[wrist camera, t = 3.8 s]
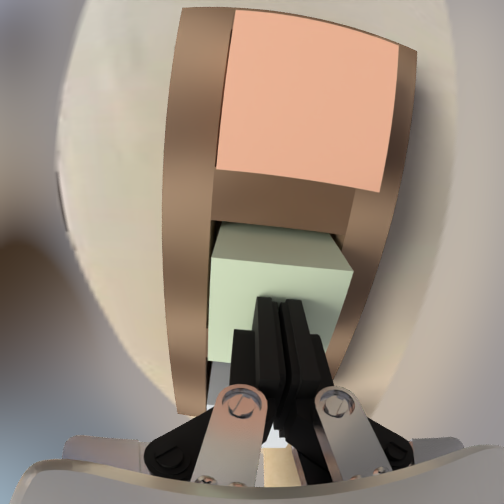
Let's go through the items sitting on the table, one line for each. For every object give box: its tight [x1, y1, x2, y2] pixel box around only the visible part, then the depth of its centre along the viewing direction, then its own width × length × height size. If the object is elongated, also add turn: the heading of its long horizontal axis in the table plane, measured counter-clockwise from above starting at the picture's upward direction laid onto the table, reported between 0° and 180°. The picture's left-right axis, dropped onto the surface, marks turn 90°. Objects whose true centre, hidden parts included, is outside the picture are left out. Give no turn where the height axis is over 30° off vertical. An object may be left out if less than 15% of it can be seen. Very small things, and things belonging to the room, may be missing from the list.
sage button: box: [208, 221, 354, 363], centre depth 13 cm, size 5×5×4 cm
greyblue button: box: [207, 361, 288, 448], centre depth 16 cm, size 5×5×4 cm
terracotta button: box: [216, 10, 399, 192], centre depth 9 cm, size 5×5×4 cm
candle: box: [263, 443, 301, 487], centre depth 20 cm, size 6×6×10 cm
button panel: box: [162, 7, 417, 417], centre depth 15 cm, size 24×10×4 cm, turn 174°
